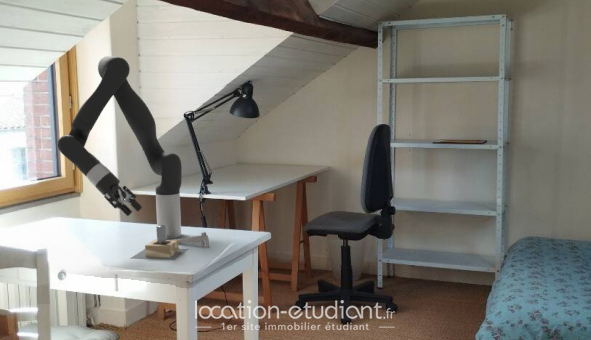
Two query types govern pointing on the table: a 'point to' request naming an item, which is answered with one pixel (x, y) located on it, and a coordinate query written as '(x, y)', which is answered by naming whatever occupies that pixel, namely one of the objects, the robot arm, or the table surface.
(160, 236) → the ball
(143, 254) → the mat
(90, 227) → the table surface
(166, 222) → the robot arm
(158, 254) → the wooden square frame
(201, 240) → the caliper
